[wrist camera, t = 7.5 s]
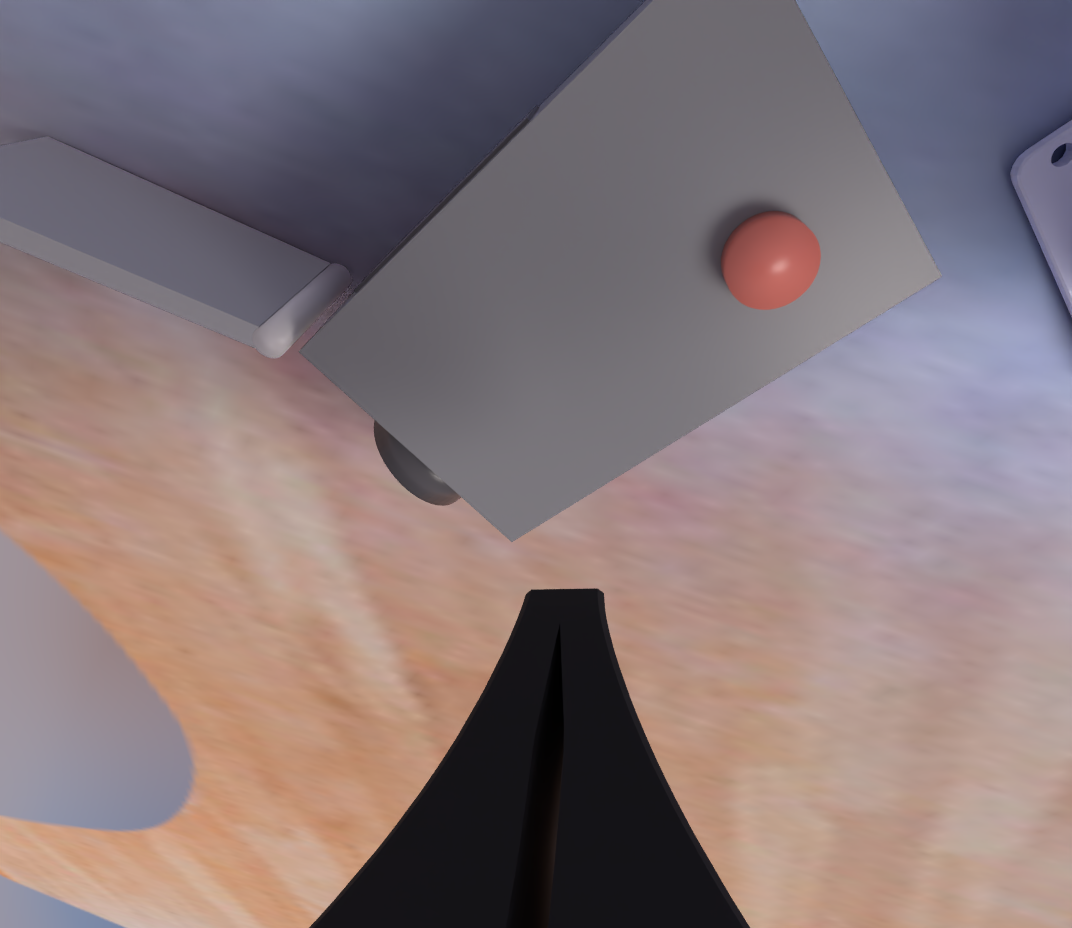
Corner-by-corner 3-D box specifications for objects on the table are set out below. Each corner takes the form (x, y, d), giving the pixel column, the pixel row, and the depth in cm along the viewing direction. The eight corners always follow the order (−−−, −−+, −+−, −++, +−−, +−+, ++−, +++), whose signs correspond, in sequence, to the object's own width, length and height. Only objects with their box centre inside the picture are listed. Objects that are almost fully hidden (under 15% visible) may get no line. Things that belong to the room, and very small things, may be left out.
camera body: (701, -61, 14) (751, -103, 9) (859, 216, 17) (956, 286, 12) (329, 311, 20) (248, 397, 15) (495, 468, 23) (470, 580, 18)
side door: (48, 175, 18) (-108, 217, 14) (47, 132, 17) (-118, 163, 13) (344, 305, 19) (279, 376, 15) (354, 270, 19) (289, 335, 15)
